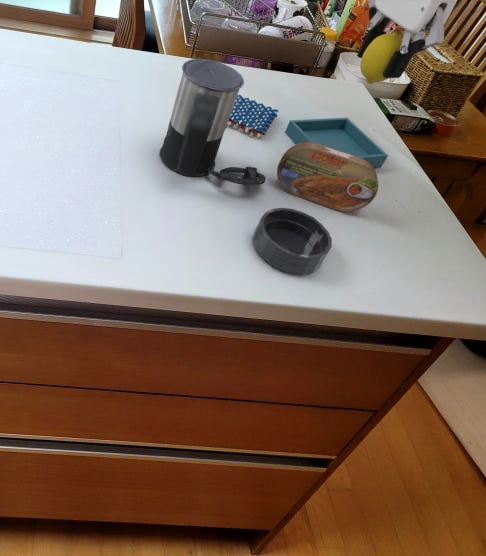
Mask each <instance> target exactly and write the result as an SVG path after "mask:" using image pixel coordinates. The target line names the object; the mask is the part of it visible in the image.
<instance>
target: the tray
mask: <svg viewBox="0 0 486 556" xmlns="http://www.w3.org/2000/svg"><path fill="white" fill-rule="evenodd" d="M284 133H285V134H286V136H287V137H288V138H289V139H290V140H291V141H292V142H293V143H294V145H296V144H299V143H304V142H312V143H316V144H320V145H322V146H325V147H328V148H331V149H334V150H337V151H340V152H343V153H347V154H350V155H353V156H356V157H359V158H362V159H364V160H366V161H368V162H369V163H370V164H371V165H372V166H373V167H374V169H376V168H382V166H383V165H384V163H385V161H386V160H388V157H389V154H387V153H386V151H385V150H383V149H382V148H381V147H380V146H379V145H378V144H377V143H376V142H374V141H373V139H371V138H370V137H369V135H367V134H366V133H365V132H363V130H362V129H361V128H359V127H358V126H357V125H356V124H355V123H354V122H353V121H352V120H351V119H350V118H348V117H331V118H329V117H328V118H310V119H291V120H289V121H288V124H287V126H286V128H285V131H284Z"/></svg>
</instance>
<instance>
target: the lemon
mask: <svg viewBox="0 0 486 556" xmlns="http://www.w3.org/2000/svg"><path fill="white" fill-rule="evenodd" d="M402 40H403V39H402V38H401V37H400V36H399V34H398V32H395V31H393V32H391V33H386V34H383V35H381V36H378V37H377V38H375V39H374V40H373V41H372V42H371V43H370V45H369V46H368V47H367V49H366V50H365V52H364V54H363V56H362V58H360V59H361V60H360V72H361V74H362V76H363V77H364V78H365V81H366V83H367V84H369V85H372V84H374V83H380V82H384V81H387V80H388V79H389V78H385V77H383V72H384V71H385V69H386V67H387V65H388V63H389V61H390V59H391V58H392V56H393V54H394V52H395V51H400V47H401V44H402Z"/></svg>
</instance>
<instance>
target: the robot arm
mask: <svg viewBox="0 0 486 556" xmlns="http://www.w3.org/2000/svg"><path fill="white" fill-rule="evenodd" d="M457 2H458V0H367V3H368V23H367V24H366V28H367V30H368V31H367V33H366V35H365V38H364V39H363V41H362V44H361V45H360V47H359V49H358V52H357V53H356V56H357V57H358V59H362V56H363V54H364V52H365V50H366V49H367V47H368V46H369V45H370V43H371V42H372V41H373V40H374V39H375V38H377V37H378V36H381V35H383V34H388V33H387V31H385V30H386V29H387V28H388V27H389V26H390V25H391V23H393V22H394V23H395V24H397V25H398V26H400V27H401V28H403V29H404V32H403V36H402V39H401V40H402V44H401V47H400V51H395V52H394V54H393V56H392V58H391V59H390V61H389V63H388V65H387V67H386V69H385V71H384V72H383V77H385V78H388V79H399V78H401V77H402V75H403V74H404V73H405V71H406V69H407V67H408V65H409V64H410V62H411V60H412V58H413V57H414V55H417V54H419V53H420V52H422V51H424V50H428V49H430V48H432V47H435V46H438V45H440V44H442V43H444V41H445V24H446V22H447V21H448V19H449V17H450V15H451V13H452V11H453V10H454V8H455V6H456V4H457ZM426 32H428V36H426Z"/></svg>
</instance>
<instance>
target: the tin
mask: <svg viewBox="0 0 486 556" xmlns="http://www.w3.org/2000/svg"><path fill="white" fill-rule="evenodd" d="M276 177H277V180H278V181H277V182H278V183H279V185H280V186H281V188H282V189H283V190H284V191H285V192H286V193H289V194H290V195H293V196H296V197H298V198H301V199H304V200H307V201H310V202H313V203H316V204H319V205H321V206H324V207H327V208H330V209H332V210H335V211H338V212H346V213H348V212H356V211H358V210H362V209H364V208H365V207H367V206H368V205H370V203H372V202H373V201H374V199H375V198H376V196H377V194H378V191H379V179H378V174H377V171H376V168H374V167H373V166H372V165H371V164H370V163H369V162H368V161H366V160H364V159H362V158H359V157H356V156H353V155H350V154H347V153H343V152H340V151H337V150H334V149H331V148H328V147H325V146H322V145H320V144H316V143H312V142H304V143H299V144H294V145H292V146H291V147H289V148H288V149H287V150H286V151H285V152H284V153H283V154H282V156H281V158H280V160H279V162H278V165H277V168H276Z"/></svg>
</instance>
